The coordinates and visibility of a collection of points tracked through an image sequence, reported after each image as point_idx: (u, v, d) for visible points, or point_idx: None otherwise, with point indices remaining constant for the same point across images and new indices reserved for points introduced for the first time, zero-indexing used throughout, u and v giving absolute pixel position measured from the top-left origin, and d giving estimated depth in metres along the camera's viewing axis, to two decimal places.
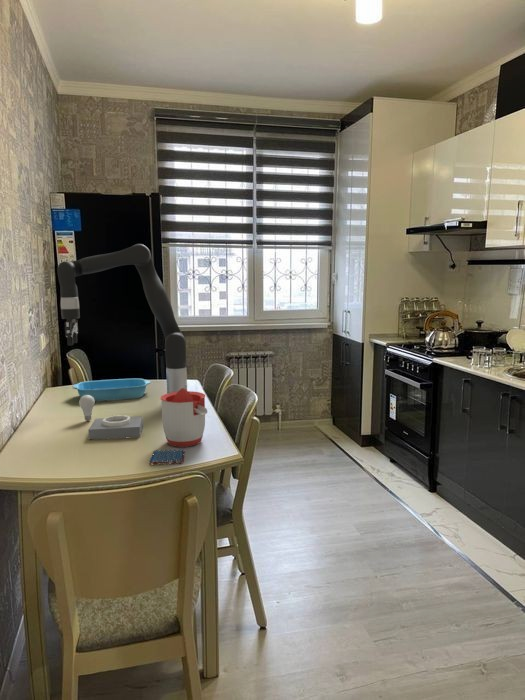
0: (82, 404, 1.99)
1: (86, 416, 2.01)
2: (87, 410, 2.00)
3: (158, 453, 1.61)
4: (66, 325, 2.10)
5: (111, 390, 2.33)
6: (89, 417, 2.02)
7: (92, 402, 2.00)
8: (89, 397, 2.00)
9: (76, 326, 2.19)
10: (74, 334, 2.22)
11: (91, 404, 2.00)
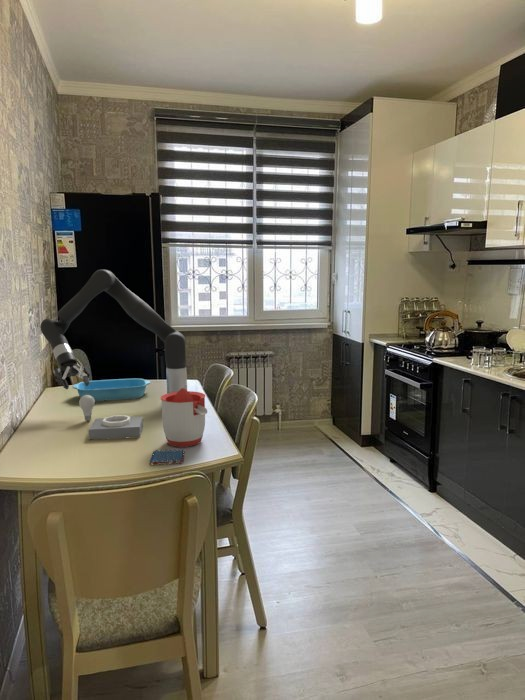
0: (82, 404, 1.99)
1: (86, 416, 2.01)
2: (87, 410, 2.00)
3: (158, 453, 1.61)
4: (53, 372, 2.06)
5: (110, 390, 2.33)
6: (89, 417, 2.02)
7: (92, 402, 2.00)
8: (89, 397, 2.00)
9: (77, 369, 2.10)
10: (83, 377, 2.11)
11: (91, 404, 2.00)
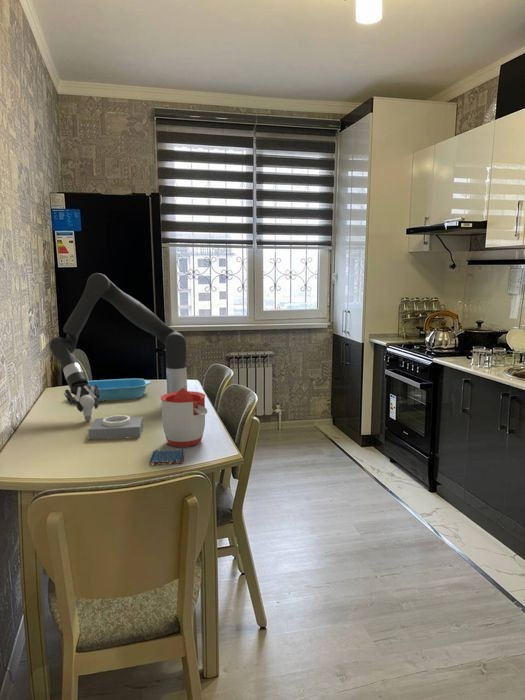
0: (81, 404, 1.99)
1: (86, 416, 2.01)
2: (87, 410, 2.00)
3: (158, 453, 1.61)
4: (65, 394, 2.00)
5: (110, 390, 2.33)
6: (89, 417, 2.02)
7: (92, 402, 2.00)
8: (88, 397, 2.00)
9: (87, 389, 2.04)
10: None
11: (91, 404, 2.00)
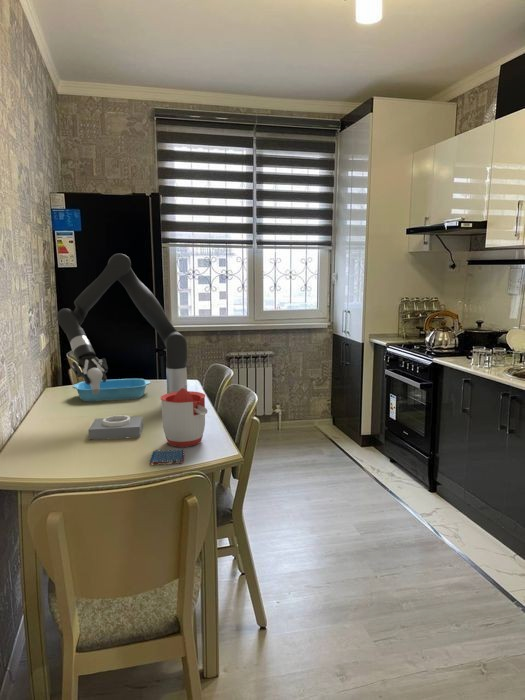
0: (89, 377, 1.92)
1: (94, 390, 1.94)
2: (95, 383, 1.93)
3: (158, 453, 1.61)
4: (72, 367, 1.93)
5: (109, 390, 2.33)
6: (97, 390, 1.95)
7: (100, 375, 1.93)
8: (96, 370, 1.93)
9: (95, 362, 1.97)
10: None
11: (99, 377, 1.93)
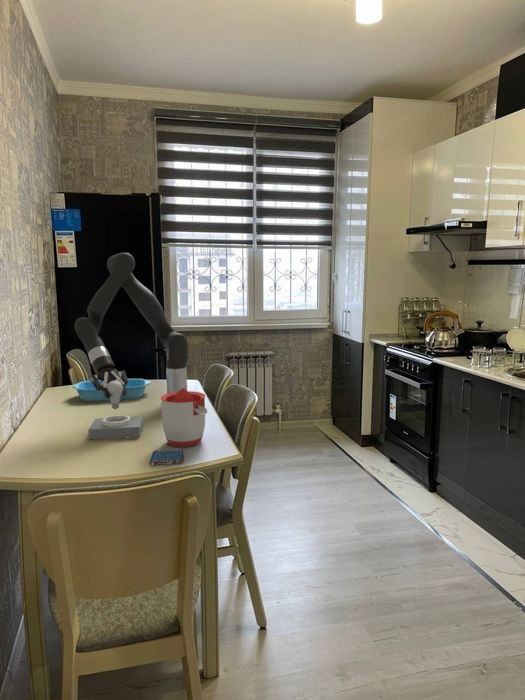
0: (109, 390, 1.82)
1: (113, 404, 1.84)
2: (115, 397, 1.83)
3: (158, 453, 1.61)
4: (91, 380, 1.83)
5: None
6: (117, 404, 1.85)
7: (120, 388, 1.83)
8: (116, 383, 1.83)
9: (115, 375, 1.87)
10: None
11: (119, 391, 1.83)
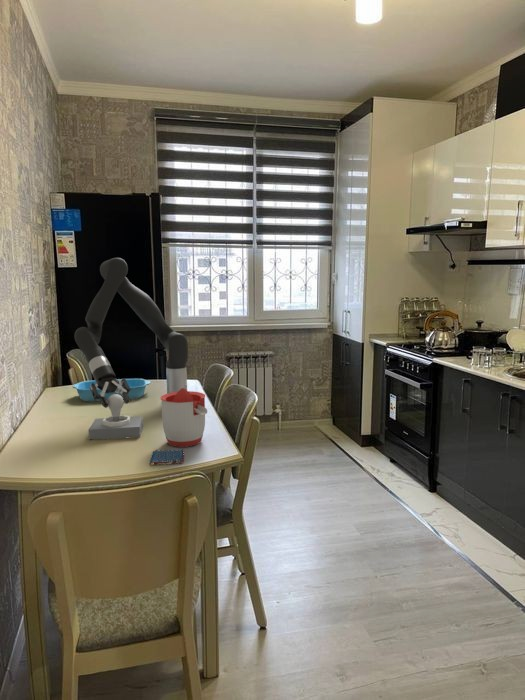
0: (110, 404, 1.83)
1: (114, 417, 1.85)
2: (115, 411, 1.84)
3: (158, 453, 1.61)
4: (91, 388, 1.84)
5: None
6: (118, 418, 1.86)
7: (121, 402, 1.84)
8: (117, 396, 1.84)
9: (116, 384, 1.88)
10: (123, 393, 1.89)
11: (120, 404, 1.84)
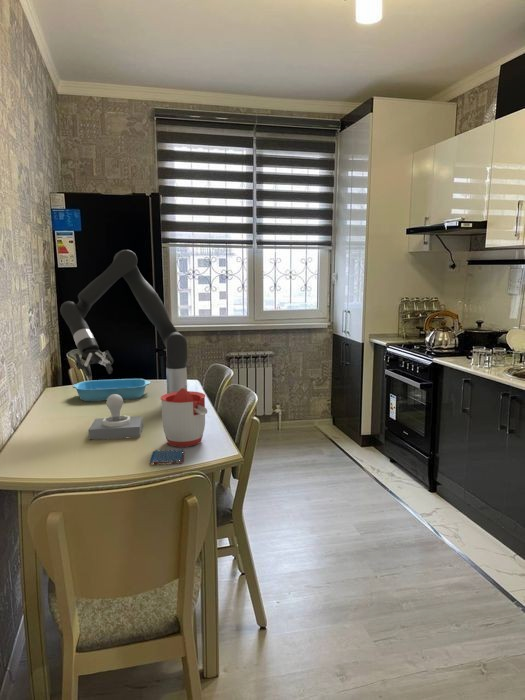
0: (109, 404, 1.83)
1: (114, 417, 1.85)
2: (115, 410, 1.84)
3: (158, 453, 1.61)
4: (75, 359, 1.91)
5: (108, 390, 2.33)
6: (118, 418, 1.86)
7: (120, 402, 1.84)
8: (117, 396, 1.84)
9: (99, 355, 1.96)
10: (106, 365, 1.96)
11: (119, 404, 1.84)
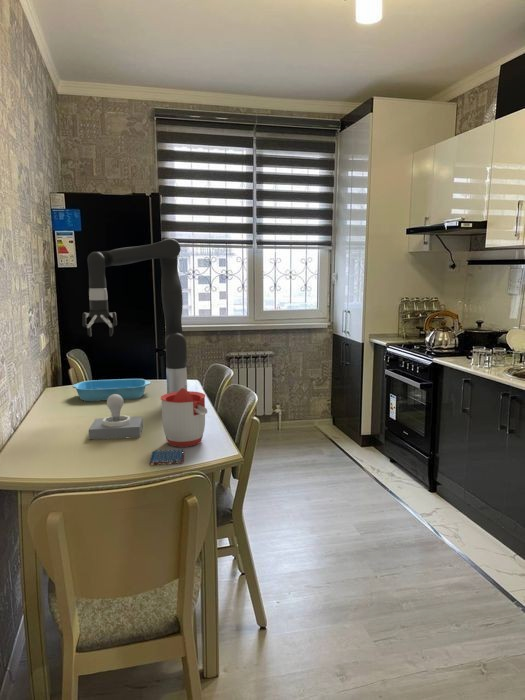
0: (110, 404, 1.83)
1: (114, 417, 1.85)
2: (115, 411, 1.84)
3: (158, 453, 1.61)
4: None
5: (108, 390, 2.33)
6: (118, 418, 1.86)
7: (121, 402, 1.84)
8: (117, 396, 1.84)
9: (103, 318, 2.13)
10: None
11: (120, 404, 1.84)
